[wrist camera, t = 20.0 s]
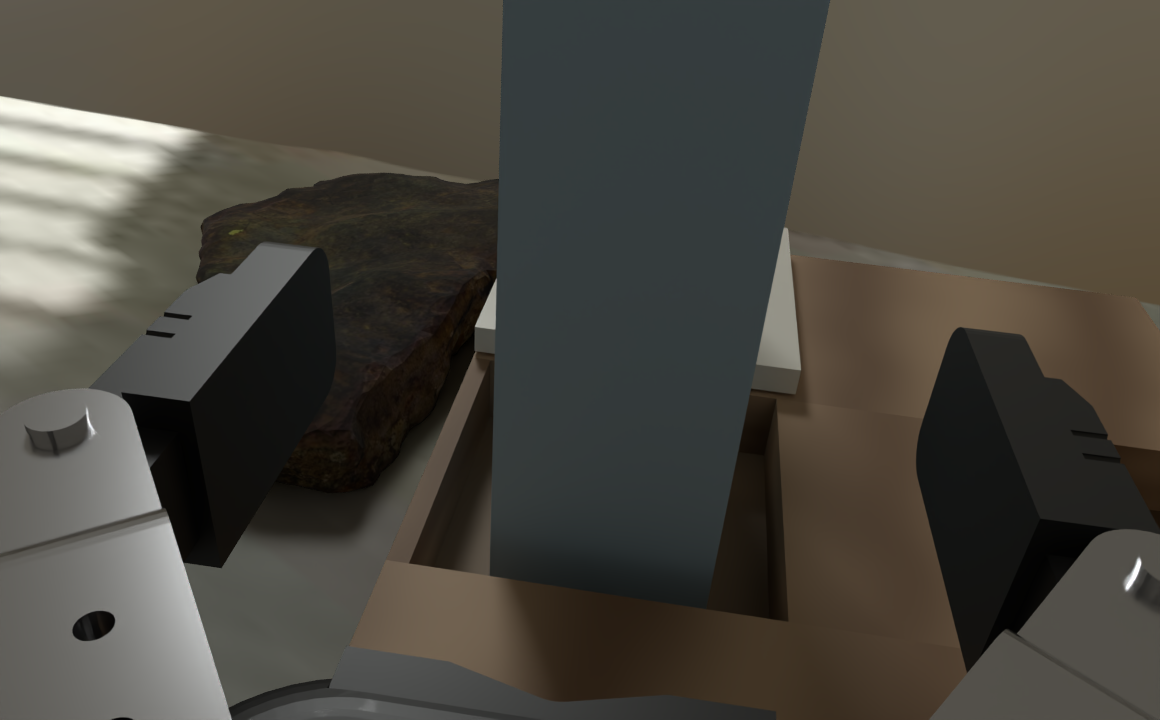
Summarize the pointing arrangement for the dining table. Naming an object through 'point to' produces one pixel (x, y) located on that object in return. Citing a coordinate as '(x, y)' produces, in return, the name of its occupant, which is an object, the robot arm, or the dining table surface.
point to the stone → (375, 302)
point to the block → (636, 277)
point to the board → (774, 516)
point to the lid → (777, 342)
